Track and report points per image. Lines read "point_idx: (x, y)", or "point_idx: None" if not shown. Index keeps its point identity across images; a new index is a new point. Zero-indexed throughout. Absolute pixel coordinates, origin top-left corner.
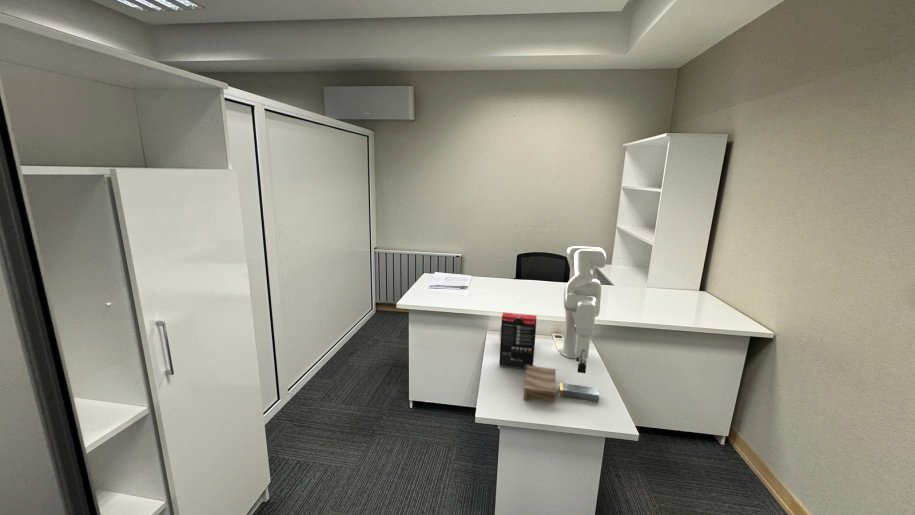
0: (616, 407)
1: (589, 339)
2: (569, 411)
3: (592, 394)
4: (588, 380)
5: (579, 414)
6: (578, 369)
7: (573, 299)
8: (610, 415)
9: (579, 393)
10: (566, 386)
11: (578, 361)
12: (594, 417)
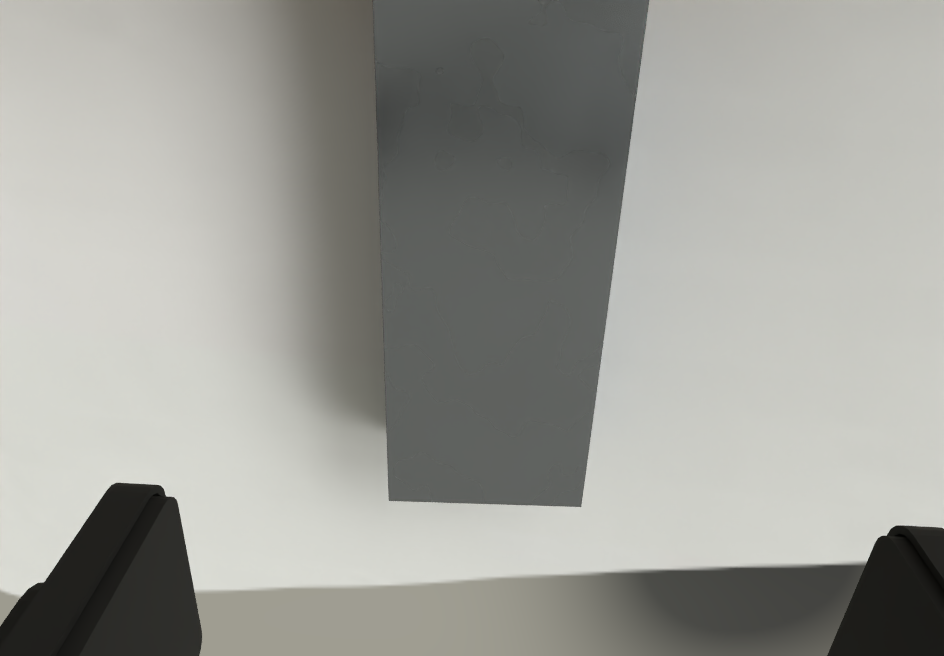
0: (357, 573)
1: None
2: (33, 56)
3: (387, 431)
4: (926, 397)
5: (30, 191)
6: (70, 570)
7: None
8: (181, 505)
9: (381, 262)
10: (535, 60)
11: (868, 574)
12: (59, 355)
